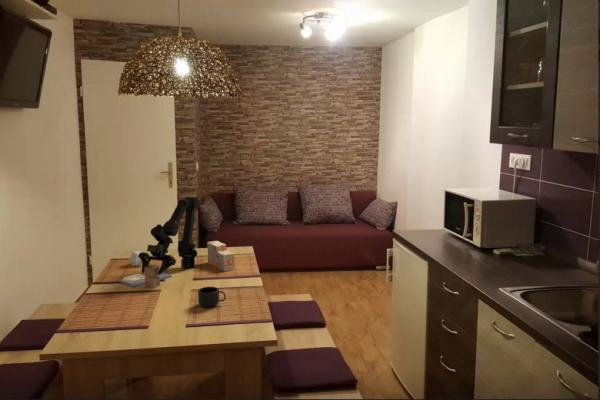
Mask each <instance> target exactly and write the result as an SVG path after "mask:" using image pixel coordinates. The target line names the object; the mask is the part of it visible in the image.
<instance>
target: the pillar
mask: <svg viewBox="0 0 600 400" xmlns="http://www.w3.org/2000/svg"><path fill="white" fill-rule="evenodd" d="M144 270H145V272H144V273H145V288H148V289H155V288H157V287H159V286H161V280H160V275H158V272H159V270H160V265H156V264H149V266H146V267H144Z"/></svg>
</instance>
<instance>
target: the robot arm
mask: <svg viewBox="0 0 600 400" xmlns="http://www.w3.org/2000/svg"><path fill="white" fill-rule="evenodd" d="M200 204H201V200H200V199H199V197H196V196H185V197H184V198H180V199H179V200H178V201H177V204H176V207H175V209H174V210H173V212H172V215H171V216H170V217H169V219H168V220H167V221H165V222H164V224H163V225H162V224H157V225H155V226H154V227H153V228H151V230H150V235H151V236H152V237H153V238H154V240H156V242H157V243H156V244H155V245H154V244H148V245H147V249H146V252H143V251H142V252H140V253H139V255H138V257H139V258H140V259H141V260H142V266H141V274H144V273H145V270H144V267H146V266H149V265H151V264H150V262H151V261H160V262H161V265H160V266H159V272H158V275H160V274H161V273H165V271H166V270H168V269H169V268H171V267H173V266H175V265H176V263H177V260H176V258H175V257H174V256H173V255H172V254H169V250H168V249H169V247H170V245H171V244H174V241H173V238H172V237H176V236H177V234H178V232H179V229H180V226H179V224H180V222H181V220H182V217H183V216H184V213H185V216H184V224H183V225H184V226H183V233H182V239H181V240H178V242H177V243H178V244H177V252H178V253H177V254H178V257H179V258H181V259H180V267H181V268H182V269H184V270H188V269H189V270H190V269H194V268H195V269H196V268H197V267H196V263H195V261H196V260H195V259H196V258H197V256H198V252H197V250H196V248H195V243H194V241H193V234H194V232H193V231H194V225H195V217H196V215H195V214H196V213H197V211H198V210H199V208H200ZM148 252H150V253H148Z"/></svg>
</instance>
